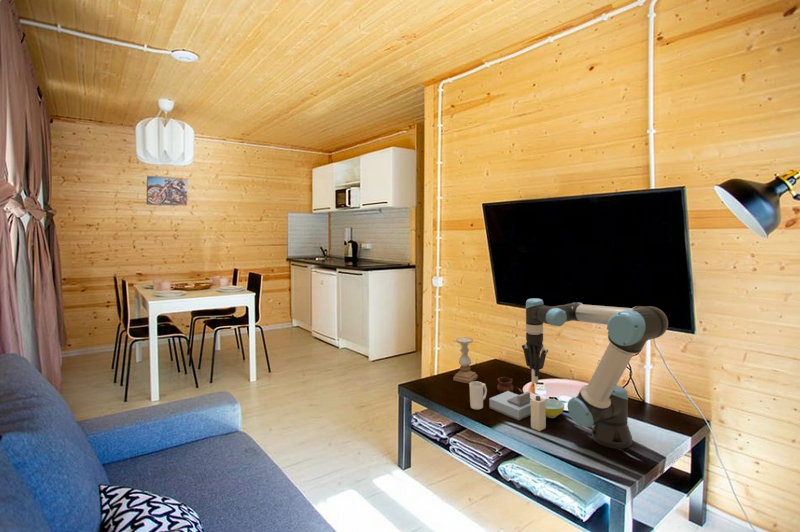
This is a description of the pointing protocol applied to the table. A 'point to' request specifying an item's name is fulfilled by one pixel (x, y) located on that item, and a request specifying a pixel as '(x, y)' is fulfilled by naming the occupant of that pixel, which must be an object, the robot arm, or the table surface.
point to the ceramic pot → (505, 385)
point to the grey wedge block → (520, 399)
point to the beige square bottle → (538, 413)
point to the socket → (509, 406)
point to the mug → (477, 394)
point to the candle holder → (465, 363)
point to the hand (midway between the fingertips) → (534, 382)
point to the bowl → (553, 408)
